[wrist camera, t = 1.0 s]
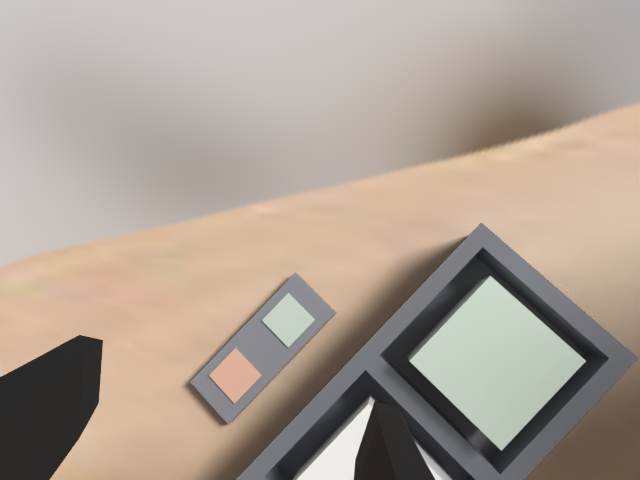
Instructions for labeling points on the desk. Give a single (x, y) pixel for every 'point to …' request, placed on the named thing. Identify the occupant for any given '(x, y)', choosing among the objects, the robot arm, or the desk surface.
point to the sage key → (495, 360)
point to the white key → (352, 451)
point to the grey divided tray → (430, 403)
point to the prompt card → (262, 348)
